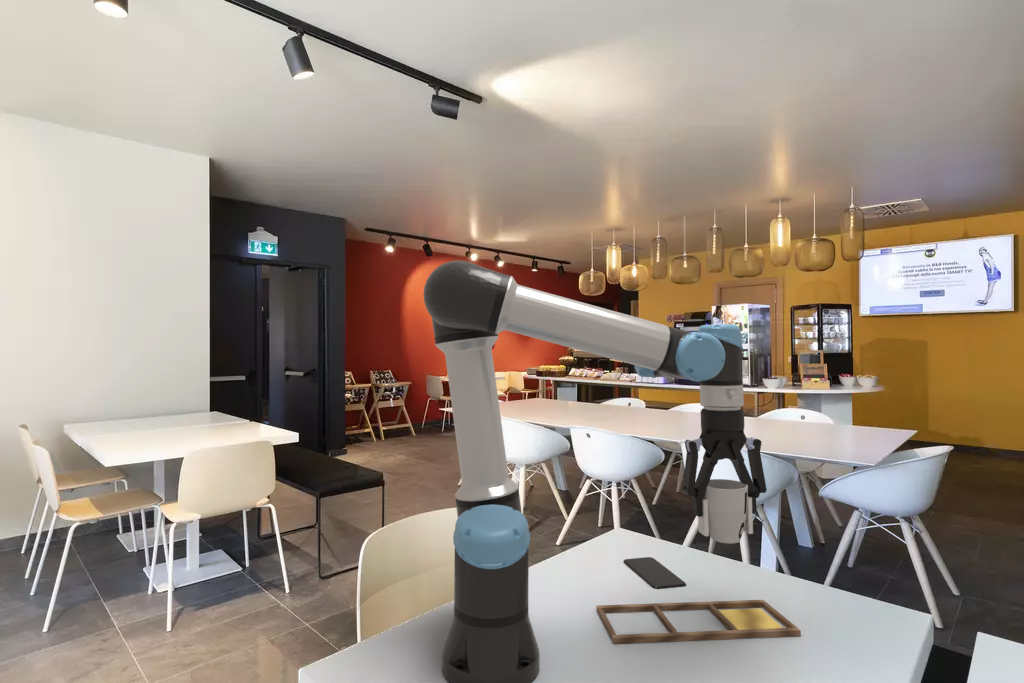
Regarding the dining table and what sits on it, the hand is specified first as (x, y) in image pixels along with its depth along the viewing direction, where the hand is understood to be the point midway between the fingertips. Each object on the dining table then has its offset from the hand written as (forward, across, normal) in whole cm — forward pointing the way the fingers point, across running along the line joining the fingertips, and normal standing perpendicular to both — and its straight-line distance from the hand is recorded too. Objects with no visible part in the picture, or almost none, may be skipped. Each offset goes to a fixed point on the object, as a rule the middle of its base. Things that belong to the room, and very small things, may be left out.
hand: (725, 532), depth 101 cm
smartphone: (+17, -6, +23) cm, 29 cm away
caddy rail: (+16, -6, 0) cm, 17 cm away
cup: (+1, 0, 0) cm, 1 cm away
